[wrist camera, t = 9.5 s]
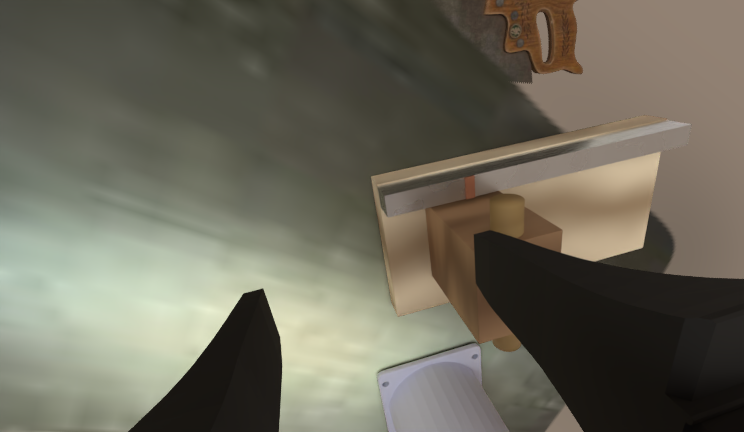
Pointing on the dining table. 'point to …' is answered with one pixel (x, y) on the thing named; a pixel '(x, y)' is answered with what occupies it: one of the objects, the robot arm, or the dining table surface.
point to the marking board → (530, 196)
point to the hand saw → (518, 33)
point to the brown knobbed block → (457, 261)
